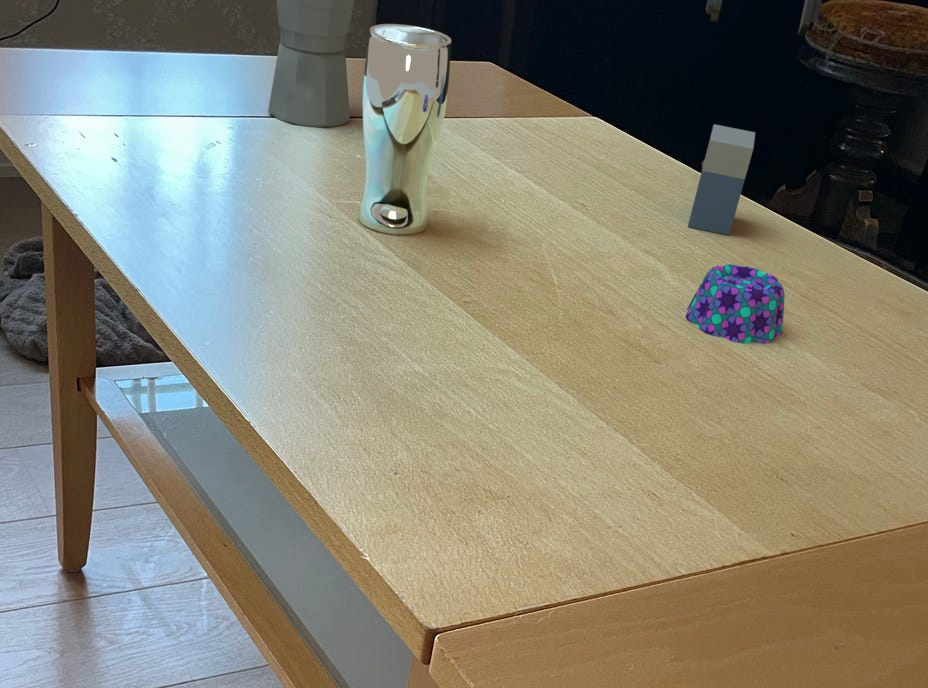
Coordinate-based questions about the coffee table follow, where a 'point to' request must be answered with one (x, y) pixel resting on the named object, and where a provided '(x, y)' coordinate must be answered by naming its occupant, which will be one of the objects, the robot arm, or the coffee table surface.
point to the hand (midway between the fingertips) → (758, 24)
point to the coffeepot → (312, 63)
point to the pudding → (739, 305)
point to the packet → (722, 179)
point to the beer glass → (401, 123)
